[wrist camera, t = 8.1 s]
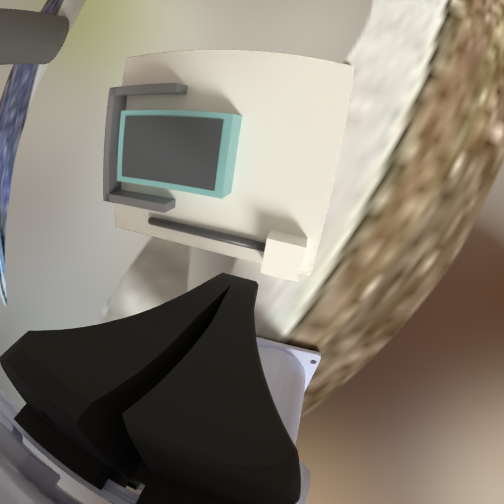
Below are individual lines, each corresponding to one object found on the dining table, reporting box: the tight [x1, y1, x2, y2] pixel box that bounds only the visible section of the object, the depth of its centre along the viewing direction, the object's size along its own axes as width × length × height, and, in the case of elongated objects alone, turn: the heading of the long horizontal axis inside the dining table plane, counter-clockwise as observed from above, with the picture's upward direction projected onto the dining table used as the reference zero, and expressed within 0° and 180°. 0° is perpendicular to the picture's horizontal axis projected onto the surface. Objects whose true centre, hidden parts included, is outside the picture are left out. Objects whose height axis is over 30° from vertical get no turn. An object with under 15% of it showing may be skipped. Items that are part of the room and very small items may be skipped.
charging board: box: [103, 50, 355, 282], centre depth 16 cm, size 16×14×2 cm
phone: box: [117, 110, 242, 199], centre depth 16 cm, size 8×5×2 cm, turn 83°
